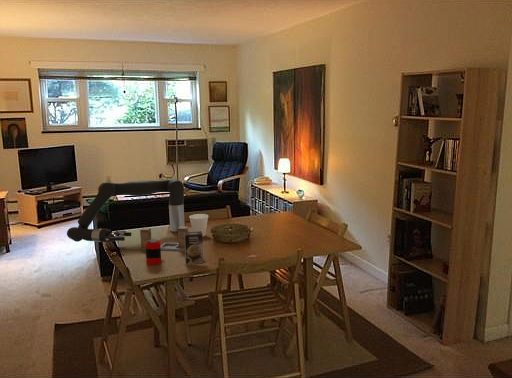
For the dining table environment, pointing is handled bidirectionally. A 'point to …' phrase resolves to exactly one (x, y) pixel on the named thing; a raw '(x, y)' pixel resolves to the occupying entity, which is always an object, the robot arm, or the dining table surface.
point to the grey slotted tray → (171, 247)
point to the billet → (145, 237)
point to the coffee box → (193, 248)
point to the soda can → (153, 252)
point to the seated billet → (182, 236)
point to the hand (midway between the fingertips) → (127, 236)
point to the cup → (199, 222)
